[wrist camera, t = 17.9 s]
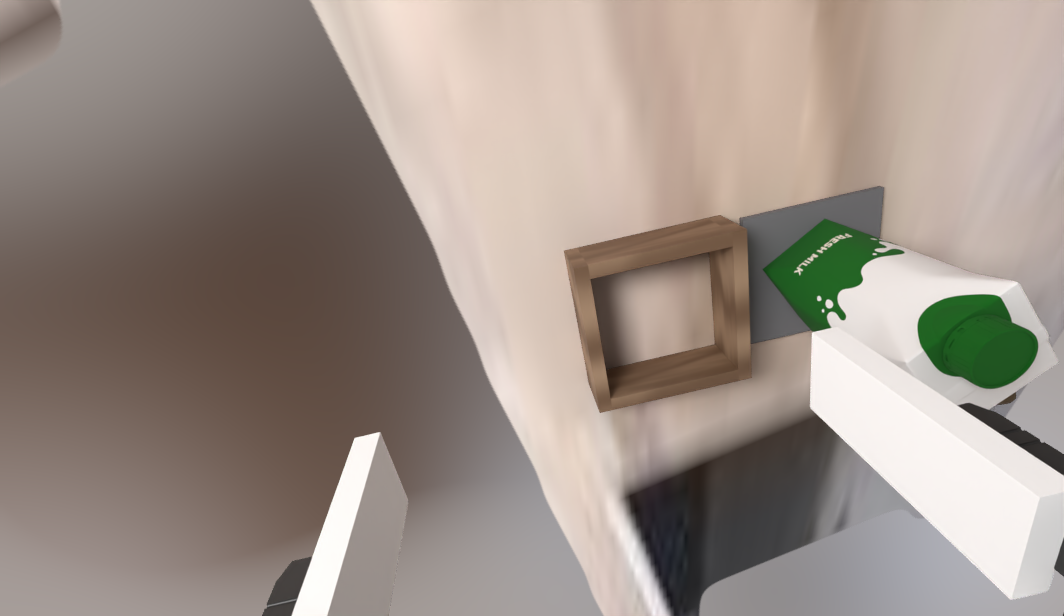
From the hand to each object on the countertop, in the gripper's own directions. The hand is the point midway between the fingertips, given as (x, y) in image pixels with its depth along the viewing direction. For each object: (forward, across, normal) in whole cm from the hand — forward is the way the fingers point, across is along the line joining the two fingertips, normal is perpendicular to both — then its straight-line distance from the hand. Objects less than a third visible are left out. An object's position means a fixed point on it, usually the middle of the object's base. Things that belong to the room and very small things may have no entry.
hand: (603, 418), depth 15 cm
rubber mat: (+31, +26, -12) cm, 42 cm away
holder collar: (+31, +10, -12) cm, 34 cm away
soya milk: (+30, +26, -12) cm, 41 cm away
